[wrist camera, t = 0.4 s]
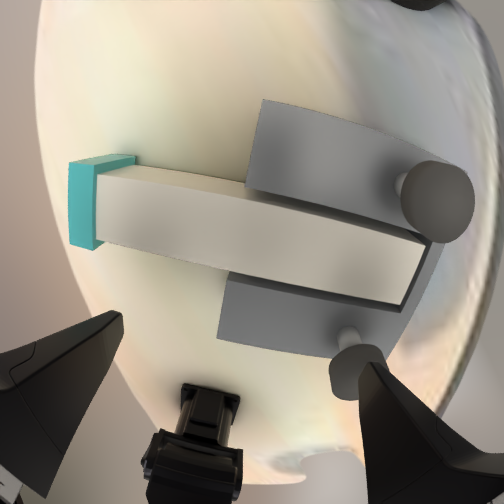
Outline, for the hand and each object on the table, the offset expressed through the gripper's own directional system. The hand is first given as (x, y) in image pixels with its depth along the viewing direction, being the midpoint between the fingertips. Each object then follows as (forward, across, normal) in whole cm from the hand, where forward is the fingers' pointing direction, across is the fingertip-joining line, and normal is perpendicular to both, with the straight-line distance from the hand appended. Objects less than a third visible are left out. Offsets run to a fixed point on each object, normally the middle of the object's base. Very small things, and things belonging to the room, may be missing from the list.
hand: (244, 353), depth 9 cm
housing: (+12, -5, -2) cm, 13 cm away
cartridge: (+11, +1, -2) cm, 11 cm away
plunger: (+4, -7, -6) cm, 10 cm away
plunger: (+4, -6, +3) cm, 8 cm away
